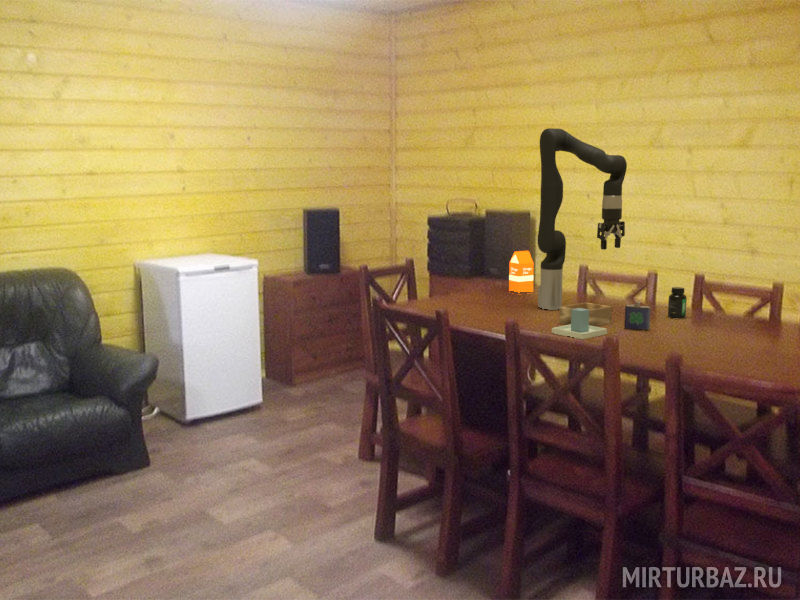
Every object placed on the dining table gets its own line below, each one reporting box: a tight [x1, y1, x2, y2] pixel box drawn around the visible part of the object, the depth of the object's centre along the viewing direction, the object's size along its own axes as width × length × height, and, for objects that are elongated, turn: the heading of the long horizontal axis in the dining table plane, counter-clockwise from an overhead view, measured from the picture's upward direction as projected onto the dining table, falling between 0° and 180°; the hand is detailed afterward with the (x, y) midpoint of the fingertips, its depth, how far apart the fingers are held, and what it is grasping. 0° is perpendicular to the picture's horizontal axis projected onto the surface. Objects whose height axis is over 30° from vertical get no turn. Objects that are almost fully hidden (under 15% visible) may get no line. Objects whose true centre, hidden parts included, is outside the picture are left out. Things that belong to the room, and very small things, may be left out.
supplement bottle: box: [667, 286, 688, 319], centre depth 326 cm, size 7×7×12 cm
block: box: [571, 308, 589, 333], centre depth 297 cm, size 4×4×8 cm
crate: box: [559, 302, 613, 327], centre depth 316 cm, size 13×16×6 cm
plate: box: [551, 324, 608, 340], centre depth 298 cm, size 14×14×2 cm
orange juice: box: [508, 250, 535, 293], centre depth 390 cm, size 8×9×20 cm
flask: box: [623, 301, 651, 332], centre depth 303 cm, size 9×3×11 cm, turn 63°
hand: (610, 248), depth 320 cm, fingers open, 8 cm apart
